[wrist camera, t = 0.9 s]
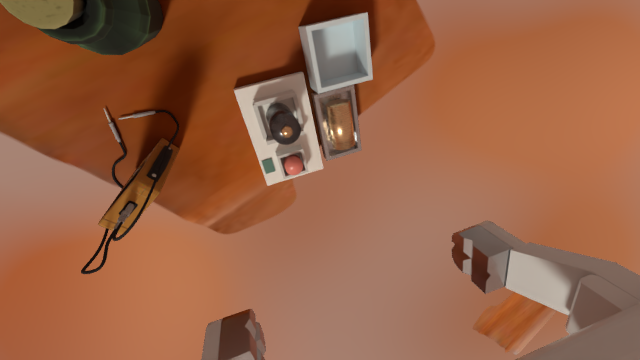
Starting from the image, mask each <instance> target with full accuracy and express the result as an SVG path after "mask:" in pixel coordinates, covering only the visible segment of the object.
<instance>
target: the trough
mask: <svg viewBox="0 0 640 360" xmlns="http://www.w3.org/2000/svg"><path fill="white" fill-rule="evenodd" d="M311 95H312V100H313V105H314V110H315V115H316V120H317V125H318V130H319V135H320V140H321V145H322V149H323V154H324V157H325V159H326V160H327V161H328V160H331V159H335V158H338V157H341V156H345V155H348V154H351V153H354V152H358V151H361V142H360V133H359V124H358V115H357V107H356V98H355V89H354V85H349V86H346V87H342V88H338V89H334V90H331V91H327V92H323V93H319V94H318V93H317V92H313V93H311ZM336 99H349V100H350V105H351V113H352V121H353V129H354V136H355V145H354V146H353V147H351V148H349V149H345V150H336V149H334V148H333V147H332V141H331V135H330V130H329V124H328V119H327V113H326V107H325V104H326V103H328V102H330V101H332V100H336Z"/></svg>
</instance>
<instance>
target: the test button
mask: <svg viewBox="0 0 640 360" xmlns="http://www.w3.org/2000/svg"><path fill="white" fill-rule="evenodd" d="M284 166H285V169H286V172H287V173H288V174H290V175H297V174H299V173H300V172H301V171H302V170H303V163H302V161H301V159H300V157H299V156H297V155H295V154H292V155H289V156H287V157H286V158H285V159H284Z"/></svg>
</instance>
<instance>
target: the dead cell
mask: <svg viewBox="0 0 640 360" xmlns="http://www.w3.org/2000/svg"><path fill="white" fill-rule="evenodd" d="M266 119H267V122H268V125H269V128H270V131H271V134H272V136H273V138H274V140H275V141H276V142H278V143H280V144H283V145H289V144H292V143H294V142H295V141H296V140H297V139H298V138H299V136H300V134H301V127H300V124H299V122H298V121H297V119H296V118H295V116H294V115H293V113H292V112H291V110H290V109H289V107H288V106H286V105H285V104H283V103H275V104H272V105H271V106H270V107H269V108H268V109H267V112H266Z"/></svg>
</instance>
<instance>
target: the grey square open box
mask: <svg viewBox="0 0 640 360" xmlns="http://www.w3.org/2000/svg"><path fill="white" fill-rule="evenodd" d="M298 28H299V33H300V38H301V43H302V48H303V53H304V57H305V62H306V67H307V72H308V77H309V82H310V87H311V88H312V89H313V90H314V91H315V92H317V93H318V94H319V93H323V92H327V91H331V90H334V89H338V88H342V87H346V86H349V85H353V84H357V83H360V82H364V81H368V80H372V79H373V75H372V62H371V49H370V36H369V23H368V12H366V13H358V14H352V15H347V16H343V17H339V18H334V19H330V20H326V21H321V22H317V23H313V24H308V25H304V26H300V27H298Z"/></svg>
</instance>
